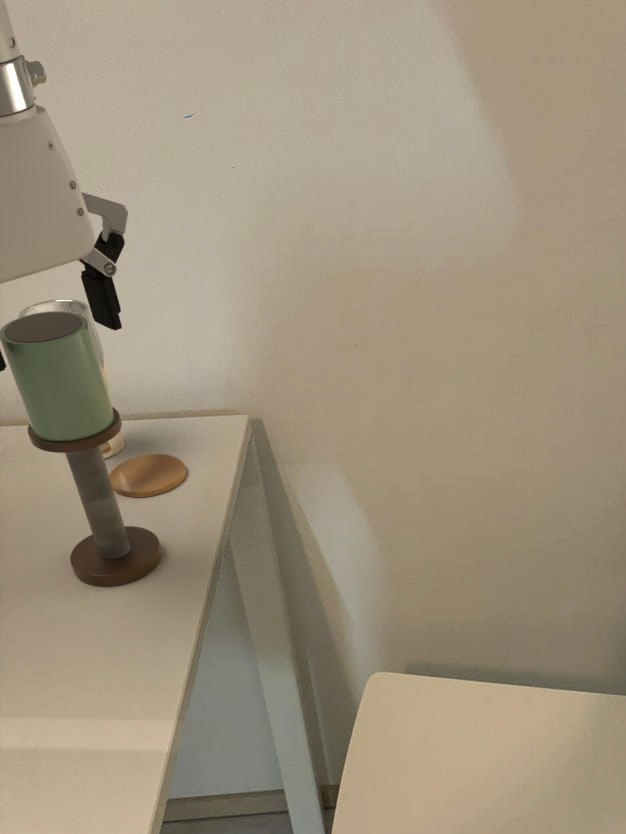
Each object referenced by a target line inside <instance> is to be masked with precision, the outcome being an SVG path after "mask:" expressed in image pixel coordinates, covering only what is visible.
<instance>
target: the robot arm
mask: <svg viewBox="0 0 626 834" xmlns="http://www.w3.org/2000/svg"><path fill="white" fill-rule="evenodd" d="M46 82H47V74H46V71H45V68H44V66H43V64H42V63H41V62H40V61H39V60H34V61H33V60H31V61H29V60H27V59H26V57H25V56H24V55H23V54H21V52H20V48H19V45H18V41H17V39H16V35H15V31H14V28H13V25H12V20H11V17H10V15H9V10H8V7H7V4H6V0H0V284H5V283H8V282H12V281H15V280H19V279H22V278H25V277H28V276H32V275H34V274H38V273H41V272H45V271H48V270H52V269H55V268H57V267H61V266H64V265H67V264H70V263H74V262H76V261H77V262H78V263H80V264H81V265H82V266H83V267H84V270H81V271H80V273H81V275H80V279H81V283H82V285H83V289H84V293H85V296H86V300H87V302H88V307H89V311H90V313H91V316H92V319H93V321H94V323H97V324H98V325H102V326H103V327H105V328H108V329H110V330H112V331H119V330H121V329H122V327H123V325H122V322H121V318H120V313H121V312H122V311H121V310H122V309H121V305H120V300H119V298H118V294H117V289H116V286H115V283H114V279H113V277H114V276H115V275H116V274H117V271H118V268H117V265H116V264H117V262H118V260H119V258H120V256H121V253H122V251H123V249H124V247H125V243H126V241H125V238H124V234H125V233H126V228H127V227H126V226H127V221H128V215H129V210H128V208H127V206H126V205H124V204H122V203H119V202H116V201H112V200H109V199H107V198H103V197H100V196H96V195H93V194H90V193H86V192H83V191H82V189H81V187H80V184H79V181H78V179H77V176H76V173H75V171H74V168H73V166H72V163H71V161H70V158H69V156H68V153H67V151H66V149H65V147H64V144H63V143H62V140H61V138H60V136H59V134H58V131H57V130H56V128H55V126H54V123H53V121H52V120H51V118H50V116H49V113H48V112H47V110H46V108H45V107H43V106H41V105H39V104H36V103H35V100H37V95H36V93H35V89H34V88H37V86H38V85H42V84H45V83H46ZM89 213H90V214H93V215H97V216H100V218H101V219H102V224H101V226H102V230H101V231H100V232H99V234H98V236H97V238H96V240H95V234H94V229H93V225H92V222H91V218H90V214H89ZM6 368H7V364H6V361H5V358H4V355H3V352H2V350H1V349H0V373H1V372H4V371H5V370H6Z"/></svg>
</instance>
